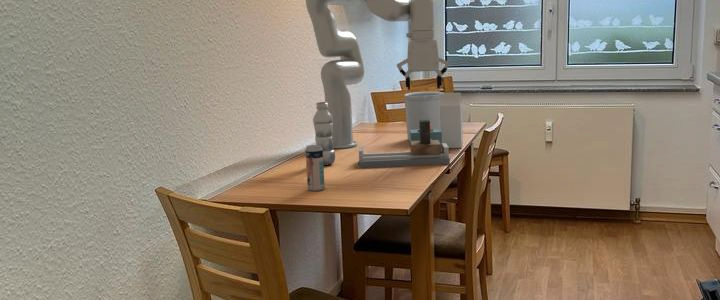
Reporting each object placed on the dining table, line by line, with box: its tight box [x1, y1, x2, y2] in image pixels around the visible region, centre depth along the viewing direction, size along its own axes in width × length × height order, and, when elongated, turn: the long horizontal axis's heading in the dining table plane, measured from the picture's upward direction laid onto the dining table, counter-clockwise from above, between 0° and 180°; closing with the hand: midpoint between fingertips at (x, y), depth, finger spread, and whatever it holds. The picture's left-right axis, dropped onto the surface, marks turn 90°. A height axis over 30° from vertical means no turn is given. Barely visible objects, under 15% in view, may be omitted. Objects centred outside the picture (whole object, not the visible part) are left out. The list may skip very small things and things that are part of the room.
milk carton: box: [440, 92, 464, 149], centre depth 249 cm, size 7×7×19 cm
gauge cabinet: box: [409, 128, 442, 150], centre depth 237 cm, size 10×8×8 cm
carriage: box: [409, 119, 441, 155], centre depth 224 cm, size 9×9×10 cm
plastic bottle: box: [312, 101, 336, 166], centre depth 226 cm, size 6×7×20 cm
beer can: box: [304, 144, 326, 192], centre depth 191 cm, size 5×5×12 cm
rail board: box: [358, 143, 451, 169], centre depth 225 cm, size 28×12×5 cm, turn 89°
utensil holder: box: [403, 91, 444, 142], centre depth 268 cm, size 15×15×18 cm
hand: (423, 88), depth 234 cm, fingers open, 9 cm apart
